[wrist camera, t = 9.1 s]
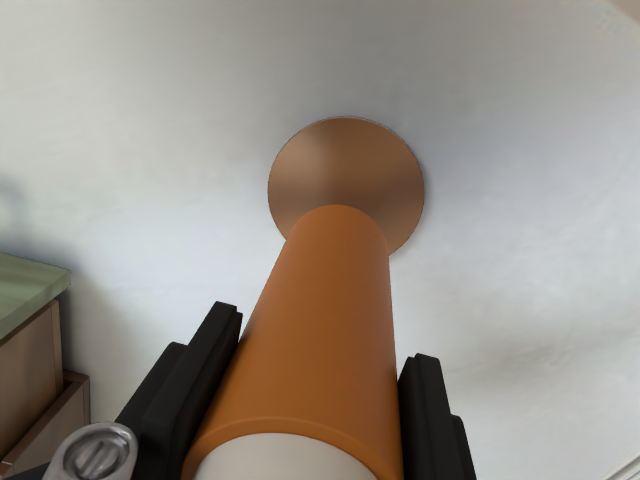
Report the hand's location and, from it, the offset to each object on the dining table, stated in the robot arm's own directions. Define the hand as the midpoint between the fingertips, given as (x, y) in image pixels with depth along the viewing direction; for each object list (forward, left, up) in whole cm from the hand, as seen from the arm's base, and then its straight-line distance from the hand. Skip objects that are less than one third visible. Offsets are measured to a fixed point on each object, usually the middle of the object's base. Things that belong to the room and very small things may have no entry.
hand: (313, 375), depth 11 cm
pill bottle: (0, 0, -8) cm, 8 cm away
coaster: (0, 0, -15) cm, 15 cm away
